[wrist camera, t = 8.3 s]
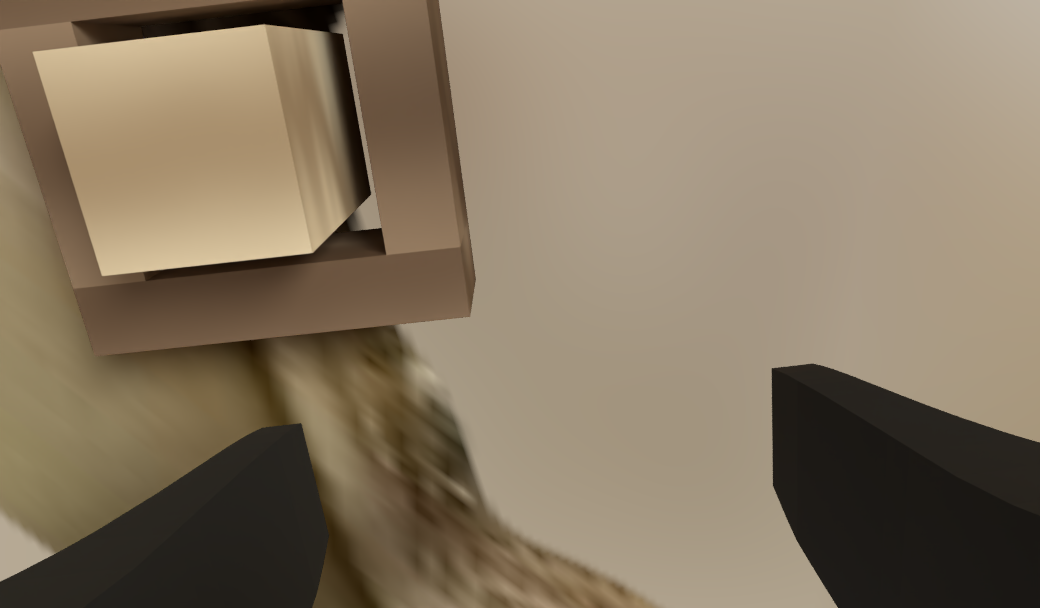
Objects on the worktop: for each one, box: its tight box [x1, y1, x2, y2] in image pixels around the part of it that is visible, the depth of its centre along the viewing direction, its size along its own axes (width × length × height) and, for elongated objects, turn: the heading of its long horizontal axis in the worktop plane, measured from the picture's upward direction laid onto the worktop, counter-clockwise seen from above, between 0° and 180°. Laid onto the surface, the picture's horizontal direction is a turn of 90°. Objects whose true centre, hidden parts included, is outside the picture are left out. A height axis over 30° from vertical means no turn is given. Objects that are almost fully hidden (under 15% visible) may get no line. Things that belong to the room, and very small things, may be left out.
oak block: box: [33, 25, 371, 276], centre depth 16 cm, size 4×4×6 cm
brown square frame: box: [0, 0, 476, 356], centre depth 17 cm, size 9×9×3 cm
